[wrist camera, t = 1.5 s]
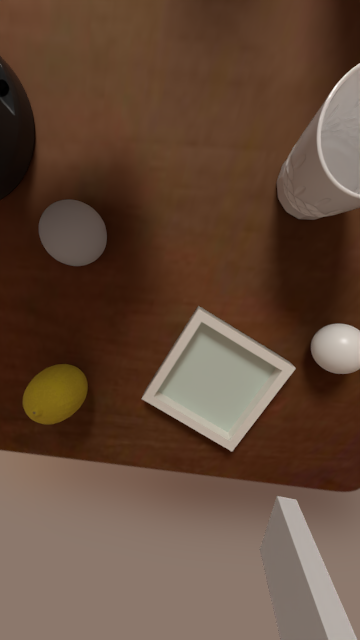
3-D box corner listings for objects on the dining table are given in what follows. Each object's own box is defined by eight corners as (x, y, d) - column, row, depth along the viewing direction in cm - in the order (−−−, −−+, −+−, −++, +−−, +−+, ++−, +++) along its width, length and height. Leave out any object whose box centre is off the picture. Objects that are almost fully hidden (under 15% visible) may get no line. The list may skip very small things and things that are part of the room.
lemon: (98, 356, 30) (62, 387, 22) (98, 399, 31) (65, 443, 23) (52, 352, 30) (1, 382, 22) (54, 395, 31) (6, 438, 23)
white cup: (332, 236, 26) (417, 215, 16) (258, 213, 26) (297, 179, 16) (366, 153, 24) (484, 72, 14) (287, 129, 24) (350, 32, 14)
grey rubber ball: (51, 247, 28) (12, 242, 22) (75, 196, 26) (40, 175, 20) (99, 276, 28) (73, 278, 22) (124, 227, 27) (105, 215, 21)
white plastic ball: (293, 348, 28) (314, 364, 23) (321, 310, 27) (349, 319, 22) (330, 371, 28) (358, 392, 23) (359, 334, 27) (395, 348, 22)
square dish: (145, 390, 30) (141, 398, 28) (198, 305, 28) (198, 308, 26) (229, 440, 31) (232, 451, 29) (289, 361, 28) (295, 368, 26)
